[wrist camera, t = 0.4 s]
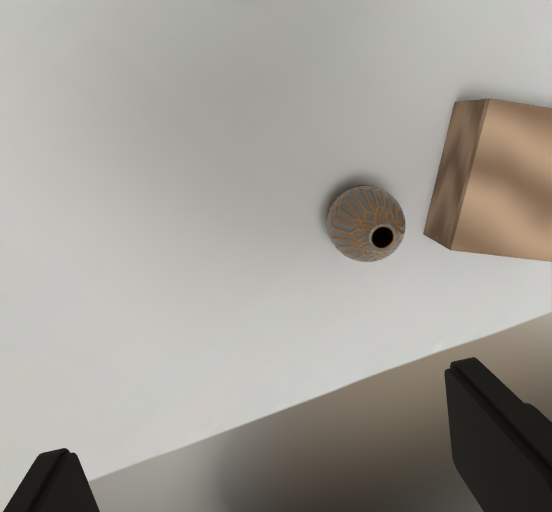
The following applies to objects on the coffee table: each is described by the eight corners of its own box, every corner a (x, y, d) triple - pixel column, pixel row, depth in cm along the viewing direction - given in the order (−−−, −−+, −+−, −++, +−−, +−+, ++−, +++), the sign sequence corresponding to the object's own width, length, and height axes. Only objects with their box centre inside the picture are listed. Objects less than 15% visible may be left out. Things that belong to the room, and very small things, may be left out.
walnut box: (454, 102, 41) (490, 98, 35) (578, 121, 43) (631, 121, 37) (423, 234, 45) (450, 250, 39) (538, 247, 46) (580, 265, 40)
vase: (370, 168, 42) (402, 179, 34) (399, 227, 44) (437, 251, 36) (309, 204, 43) (326, 223, 34) (340, 261, 45) (364, 292, 36)
